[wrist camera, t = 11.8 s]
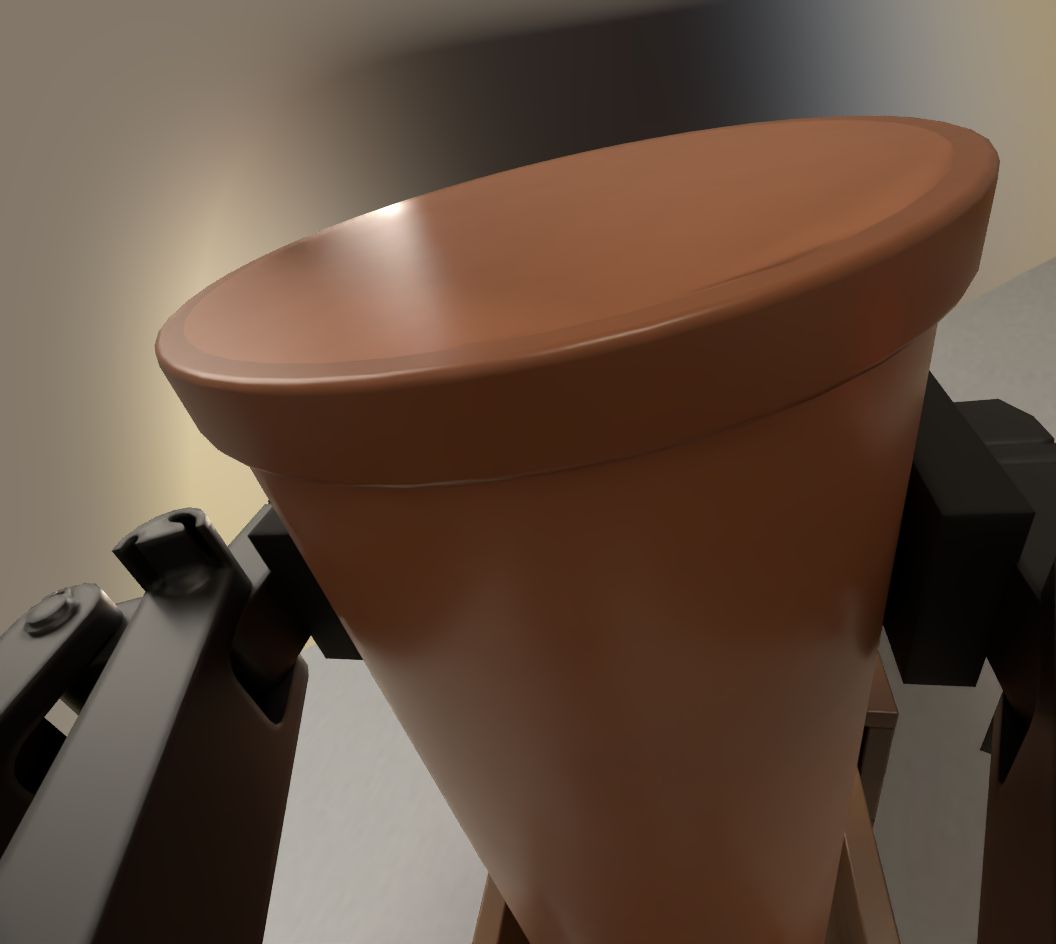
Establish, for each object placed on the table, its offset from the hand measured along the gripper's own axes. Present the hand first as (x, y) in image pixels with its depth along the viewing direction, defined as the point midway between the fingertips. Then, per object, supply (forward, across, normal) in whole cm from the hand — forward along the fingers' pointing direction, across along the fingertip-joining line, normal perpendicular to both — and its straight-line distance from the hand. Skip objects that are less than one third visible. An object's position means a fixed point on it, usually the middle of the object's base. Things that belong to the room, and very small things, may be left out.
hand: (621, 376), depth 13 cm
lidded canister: (-5, 0, -10) cm, 12 cm away
